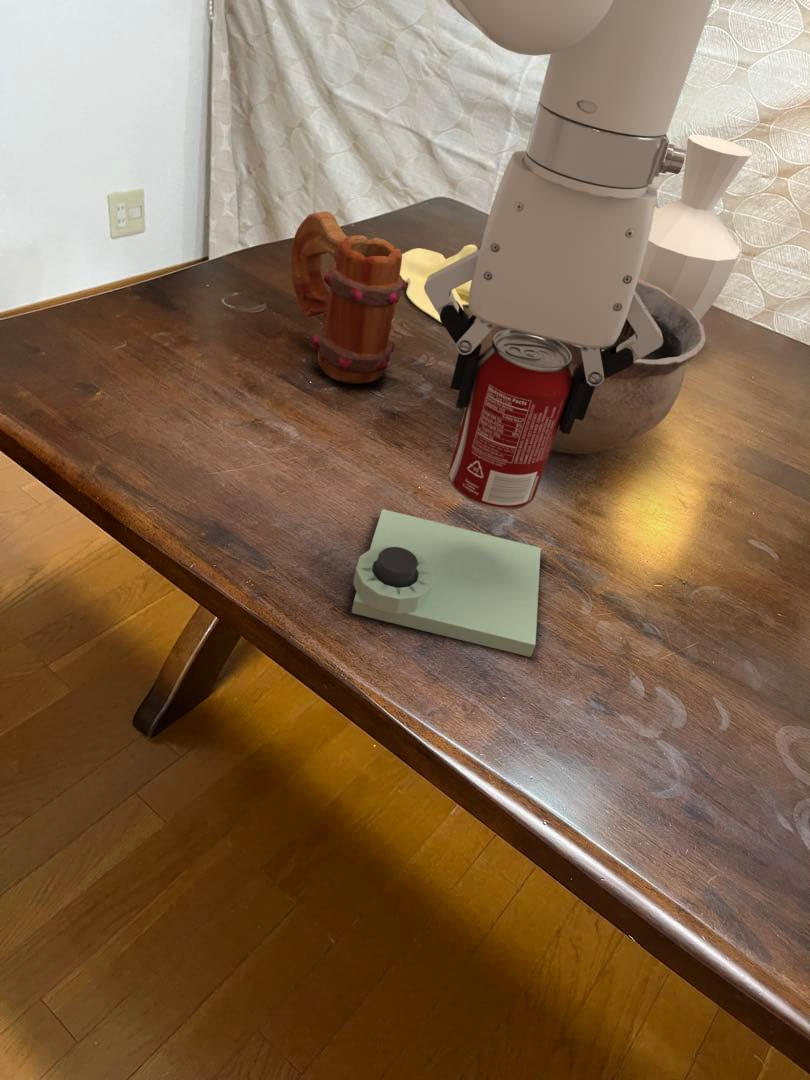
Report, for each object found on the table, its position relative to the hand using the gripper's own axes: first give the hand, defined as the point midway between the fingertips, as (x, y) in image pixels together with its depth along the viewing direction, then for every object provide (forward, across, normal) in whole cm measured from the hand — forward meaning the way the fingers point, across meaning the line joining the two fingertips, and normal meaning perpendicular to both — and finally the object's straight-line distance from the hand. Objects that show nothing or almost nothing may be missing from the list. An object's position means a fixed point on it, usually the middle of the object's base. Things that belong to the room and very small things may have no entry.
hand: (513, 409), depth 61 cm
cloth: (+16, +7, -58) cm, 61 cm away
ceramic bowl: (+16, -7, -28) cm, 33 cm away
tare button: (+13, +5, +5) cm, 15 cm away
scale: (+16, +1, +2) cm, 16 cm away
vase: (+16, -19, -58) cm, 63 cm away
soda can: (+7, 0, 0) cm, 7 cm away
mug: (+16, +18, -30) cm, 39 cm away
